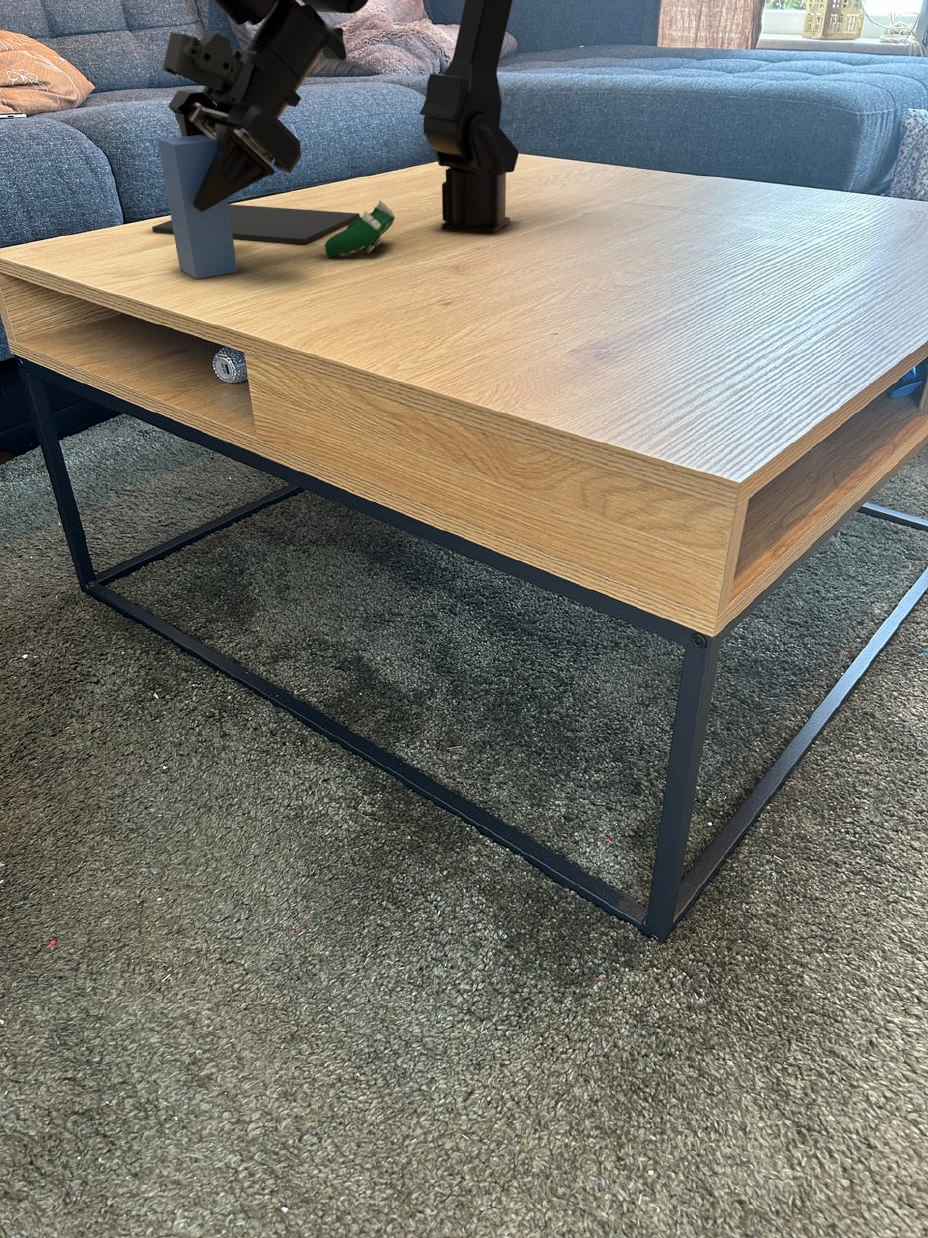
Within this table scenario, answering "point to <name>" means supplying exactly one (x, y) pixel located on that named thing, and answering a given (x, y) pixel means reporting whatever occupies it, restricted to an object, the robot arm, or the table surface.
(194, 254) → the blue block
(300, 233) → the mat
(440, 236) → the table surface
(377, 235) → the green toy shoe
